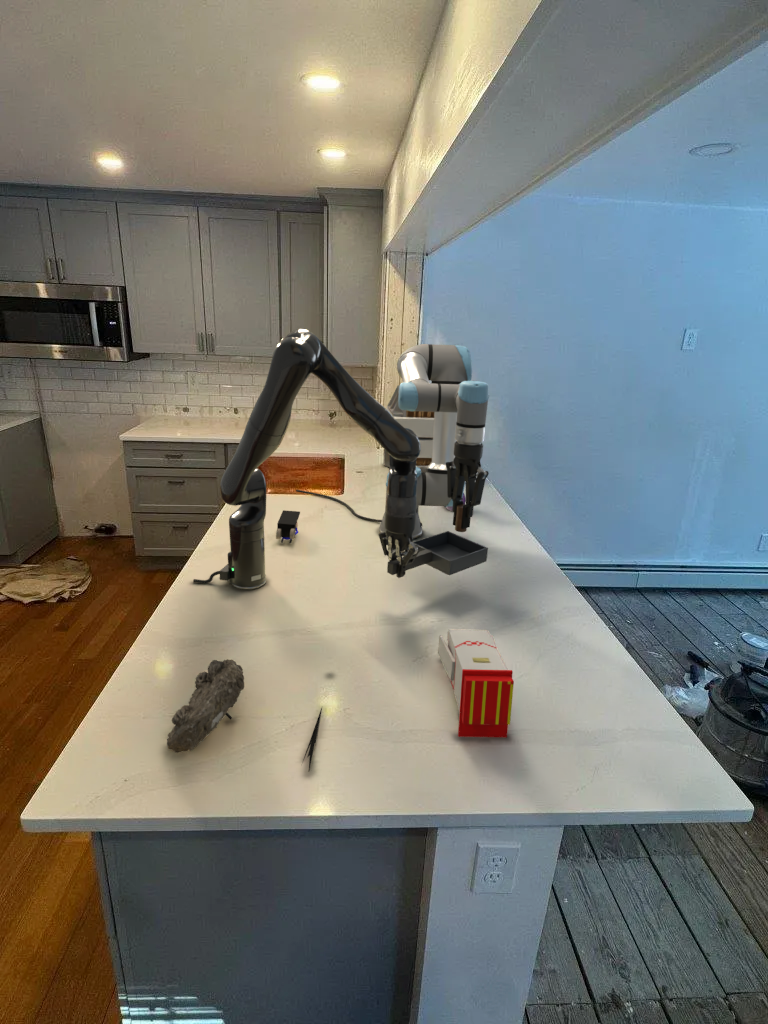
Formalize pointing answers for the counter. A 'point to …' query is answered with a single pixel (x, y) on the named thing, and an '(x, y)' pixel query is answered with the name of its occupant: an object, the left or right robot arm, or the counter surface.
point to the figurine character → (287, 525)
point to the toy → (478, 682)
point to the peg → (459, 519)
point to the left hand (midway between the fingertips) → (397, 574)
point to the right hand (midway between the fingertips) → (461, 525)
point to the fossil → (206, 705)
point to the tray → (445, 554)
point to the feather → (313, 740)
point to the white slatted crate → (414, 428)
